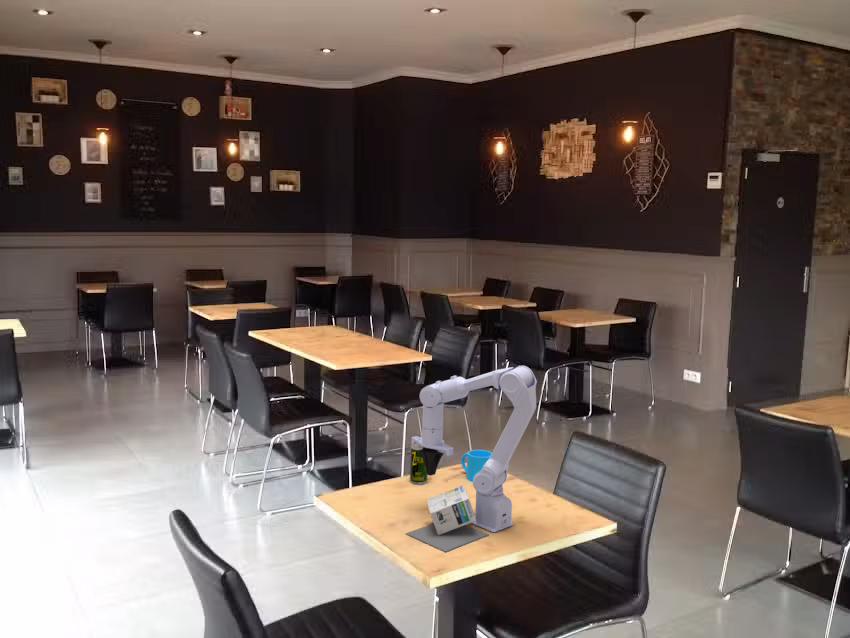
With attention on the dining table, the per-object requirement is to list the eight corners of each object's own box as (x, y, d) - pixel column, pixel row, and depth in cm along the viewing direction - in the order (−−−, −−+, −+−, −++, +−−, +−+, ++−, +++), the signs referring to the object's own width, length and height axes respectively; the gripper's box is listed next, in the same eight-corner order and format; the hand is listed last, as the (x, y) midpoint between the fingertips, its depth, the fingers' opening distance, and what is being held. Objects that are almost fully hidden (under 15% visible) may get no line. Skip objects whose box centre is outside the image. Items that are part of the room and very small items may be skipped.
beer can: (410, 478, 248) (411, 441, 246) (427, 479, 248) (428, 442, 246) (409, 484, 243) (410, 446, 241) (427, 485, 243) (428, 447, 241)
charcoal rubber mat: (488, 535, 206) (488, 534, 206) (445, 552, 195) (445, 551, 195) (449, 518, 216) (449, 517, 216) (405, 534, 205) (405, 533, 205)
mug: (497, 479, 250) (498, 454, 249) (480, 484, 244) (481, 459, 243) (469, 469, 258) (470, 445, 257) (452, 474, 253) (453, 450, 252)
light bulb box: (438, 536, 204) (477, 521, 205) (429, 513, 203) (468, 498, 203) (433, 520, 215) (471, 506, 215) (425, 497, 214) (463, 483, 214)
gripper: (461, 430, 217) (460, 478, 219) (424, 419, 227) (423, 464, 229) (443, 434, 212) (442, 483, 214) (406, 423, 222) (405, 470, 224)
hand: (431, 474), depth 221 cm, fingers closed
